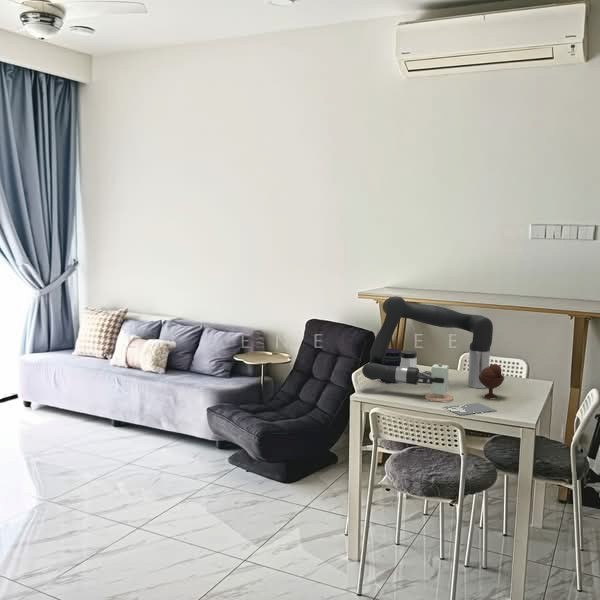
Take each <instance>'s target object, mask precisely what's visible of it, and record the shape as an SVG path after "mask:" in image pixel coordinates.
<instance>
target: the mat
mask: <svg viewBox="0 0 600 600" xmlns="http://www.w3.org/2000/svg"><path fill="white" fill-rule="evenodd" d="M465 404H466V405H464V406H462V407H461V408H463V410H464V409H465V411H466V412H460V411H452V412H451V410H450V411H449V412H451V413H453V414H456V415H458V416H460V417H461V416H469V415H473V414H472V413H473V412H474V413H478V414H482V413H481V412H486V413H491V412H490V411H495V412H497V409H494V408H492V407H490V406H487V405H484V404H483V403H480V402H476V403H465ZM459 405H460V404H457V406H456V405H447V406H443V407H444V408H446V409H448V408H452V407H459ZM448 406H449V407H448ZM465 406H467V407H465ZM444 408H443V409H444ZM446 409H445V410H446ZM452 409H456V408H452Z"/></svg>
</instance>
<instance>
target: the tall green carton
mask: <svg viewBox="0 0 600 600" xmlns="http://www.w3.org/2000/svg"><path fill="white" fill-rule="evenodd" d="M430 372H431V377H436V378H444V383H443V384H442V383H432V384H430V393H433V394H442V395H445V394H448V387H449V386H448V385H449V365H446V364H443V363H441V362H438V364H436V363H434V364H433V365H432V366H431V370H430Z"/></svg>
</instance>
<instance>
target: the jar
mask: <svg viewBox="0 0 600 600" xmlns="http://www.w3.org/2000/svg"><path fill="white" fill-rule="evenodd" d="M417 363H418V358H417V351H415V350H408V349H407V350H405V349H404V350H401V363H400V366H405V367H415V368H418V367H417V366H418V364H417Z"/></svg>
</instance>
